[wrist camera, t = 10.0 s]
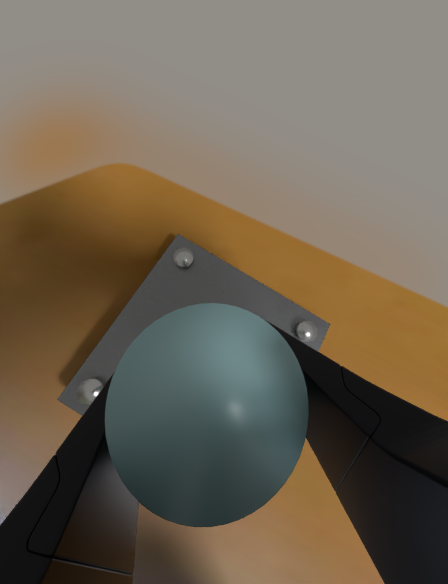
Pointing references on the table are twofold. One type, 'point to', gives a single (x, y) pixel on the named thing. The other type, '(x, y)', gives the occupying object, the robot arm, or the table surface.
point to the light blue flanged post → (206, 415)
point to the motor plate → (181, 293)
